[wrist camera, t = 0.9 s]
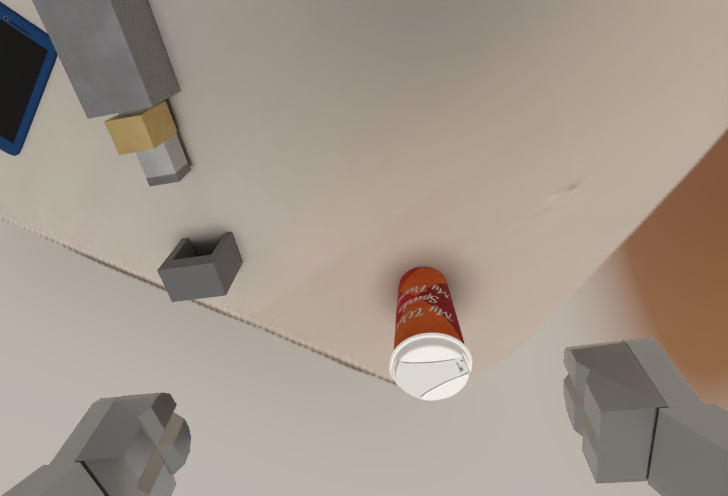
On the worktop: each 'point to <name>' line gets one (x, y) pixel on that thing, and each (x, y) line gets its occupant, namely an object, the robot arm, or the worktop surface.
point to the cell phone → (21, 76)
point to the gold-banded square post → (151, 142)
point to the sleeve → (110, 53)
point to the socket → (200, 270)
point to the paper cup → (428, 338)
